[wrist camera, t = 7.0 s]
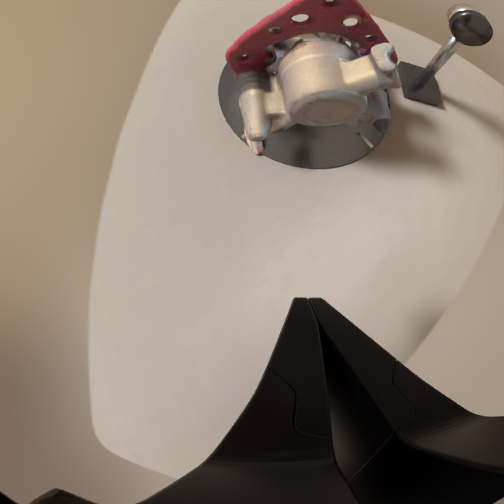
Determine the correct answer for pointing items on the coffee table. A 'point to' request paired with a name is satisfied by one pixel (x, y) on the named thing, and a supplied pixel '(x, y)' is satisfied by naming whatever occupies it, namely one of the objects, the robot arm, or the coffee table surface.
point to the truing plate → (301, 135)
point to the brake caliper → (313, 70)
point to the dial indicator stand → (445, 53)
